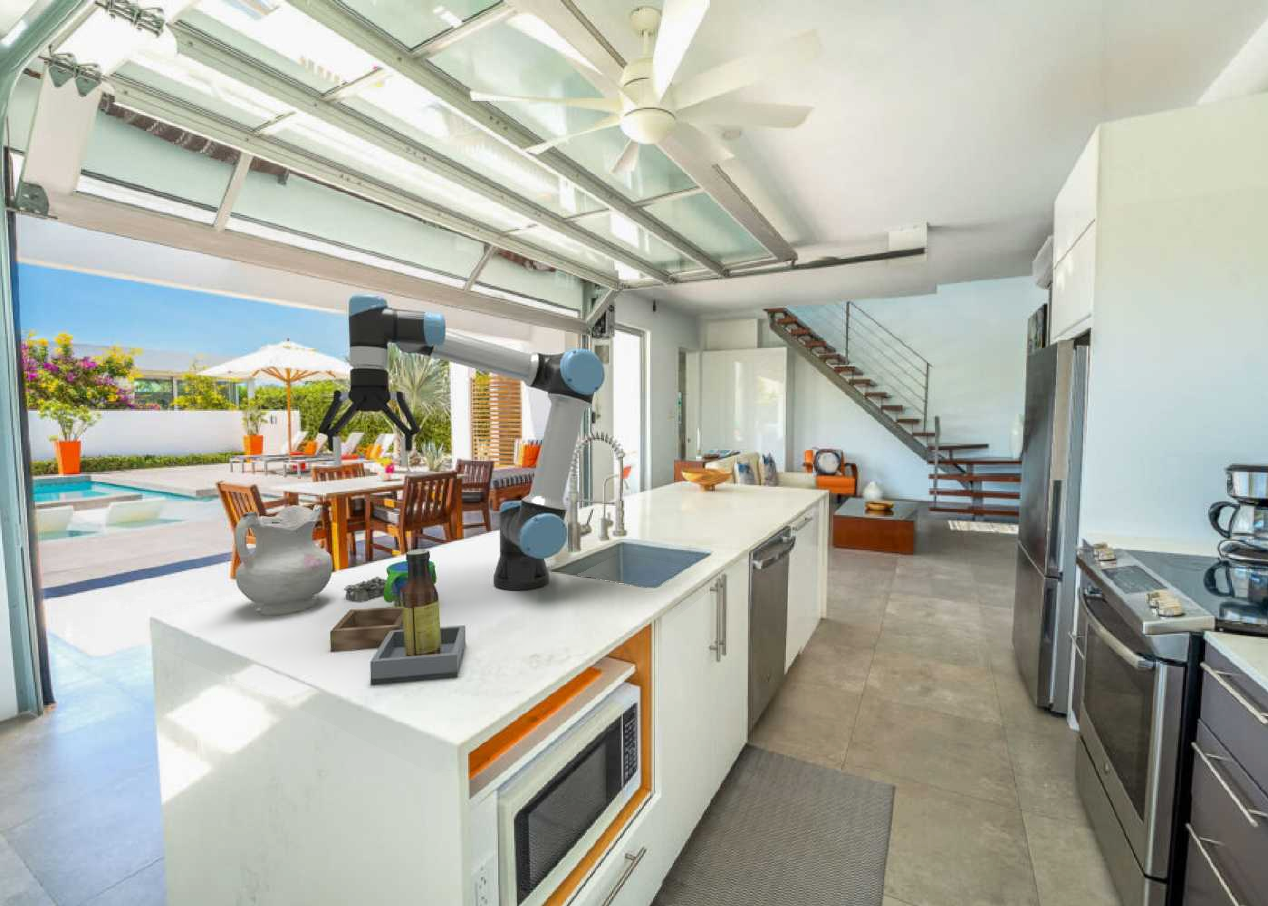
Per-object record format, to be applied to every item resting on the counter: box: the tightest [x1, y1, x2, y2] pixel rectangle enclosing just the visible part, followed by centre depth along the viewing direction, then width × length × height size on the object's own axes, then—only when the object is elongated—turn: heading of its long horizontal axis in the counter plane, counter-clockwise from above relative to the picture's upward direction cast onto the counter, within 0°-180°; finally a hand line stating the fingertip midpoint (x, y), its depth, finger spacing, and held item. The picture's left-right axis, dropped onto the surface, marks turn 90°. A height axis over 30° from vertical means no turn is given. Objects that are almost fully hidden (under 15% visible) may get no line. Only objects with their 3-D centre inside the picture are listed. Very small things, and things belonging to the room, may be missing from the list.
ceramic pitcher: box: [233, 503, 334, 617], centre depth 127 cm, size 22×20×25 cm
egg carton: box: [343, 576, 387, 603], centre depth 138 cm, size 10×7×4 cm
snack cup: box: [382, 560, 438, 607], centre depth 129 cm, size 16×10×10 cm
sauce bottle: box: [402, 548, 441, 656], centre depth 98 cm, size 7×6×20 cm
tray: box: [369, 624, 467, 686], centre depth 99 cm, size 14×14×4 cm
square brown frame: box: [329, 606, 404, 652], centre depth 111 cm, size 12×12×4 cm
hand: (371, 466), depth 118 cm, fingers open, 13 cm apart
